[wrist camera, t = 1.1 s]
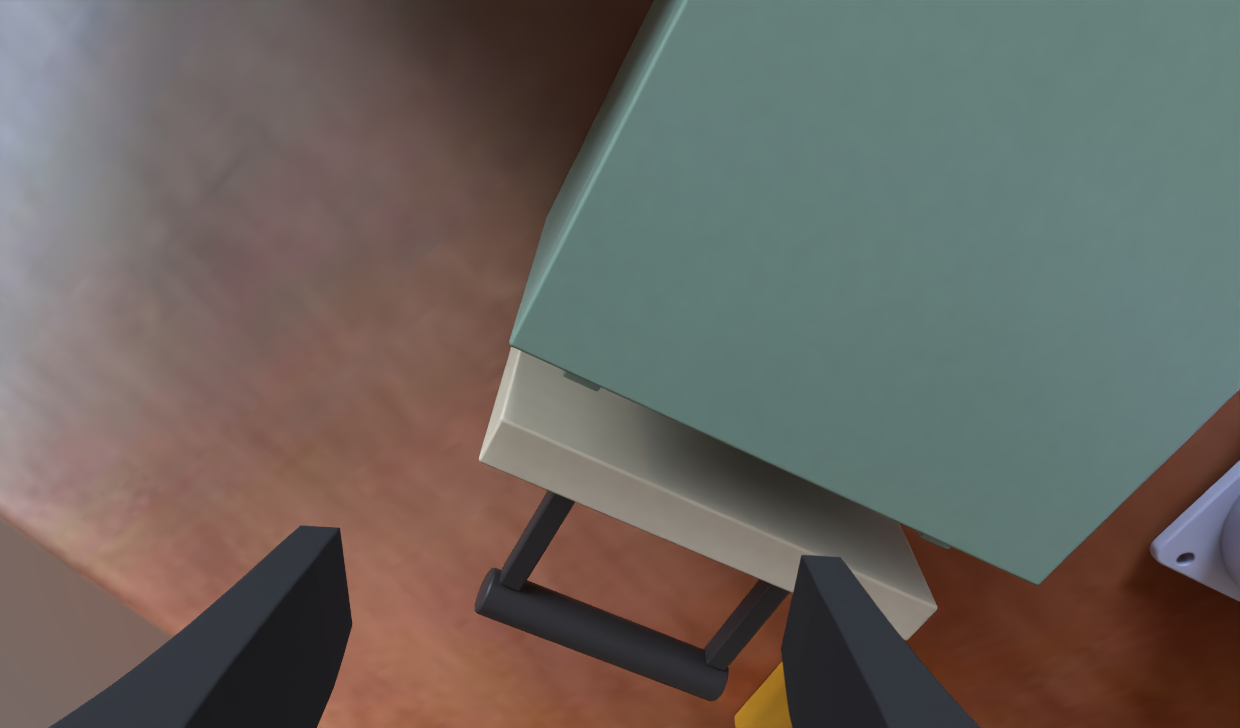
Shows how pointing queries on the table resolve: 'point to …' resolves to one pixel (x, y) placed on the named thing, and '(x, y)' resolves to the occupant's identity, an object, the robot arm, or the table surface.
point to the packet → (766, 705)
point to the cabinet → (915, 249)
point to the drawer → (671, 523)
